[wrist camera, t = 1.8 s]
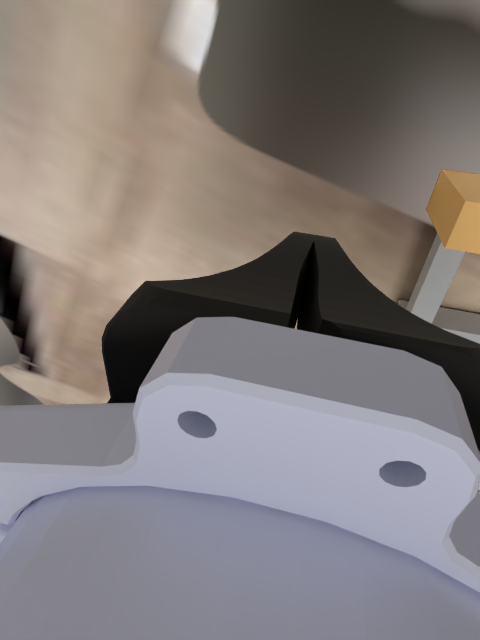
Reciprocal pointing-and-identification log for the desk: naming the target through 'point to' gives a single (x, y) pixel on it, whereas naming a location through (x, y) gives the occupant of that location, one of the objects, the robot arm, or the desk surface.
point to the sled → (449, 252)
